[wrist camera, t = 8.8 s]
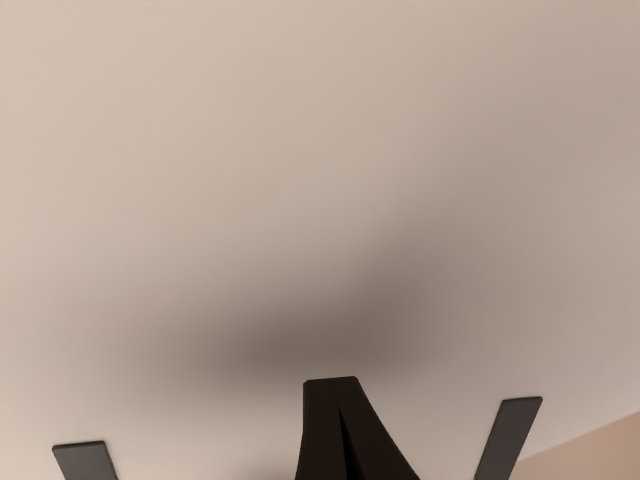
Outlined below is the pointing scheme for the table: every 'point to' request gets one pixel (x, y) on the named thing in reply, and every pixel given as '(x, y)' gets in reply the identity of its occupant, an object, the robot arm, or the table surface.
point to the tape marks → (492, 476)
